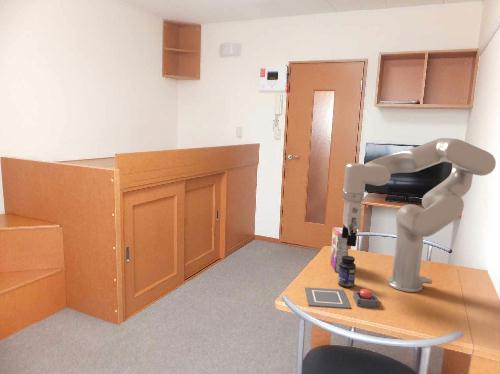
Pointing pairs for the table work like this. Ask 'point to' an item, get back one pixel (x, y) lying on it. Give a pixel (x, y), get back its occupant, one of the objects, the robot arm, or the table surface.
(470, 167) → the robot arm
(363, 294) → the button
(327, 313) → the table surface
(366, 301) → the button housing
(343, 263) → the pill bottle
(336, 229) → the candy bar box
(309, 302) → the gray square pad
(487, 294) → the table surface
